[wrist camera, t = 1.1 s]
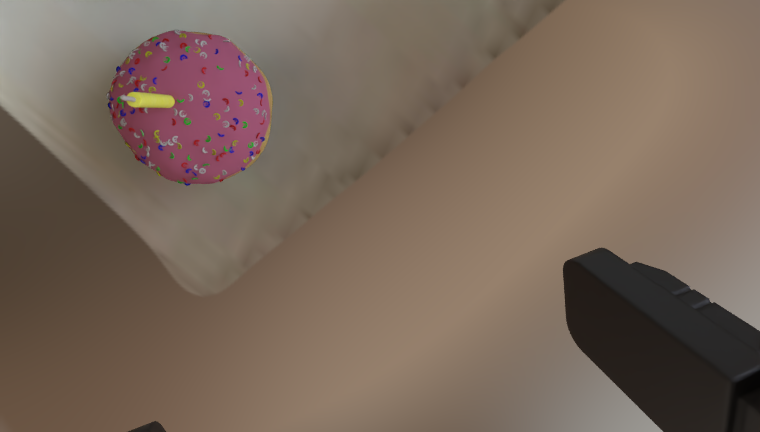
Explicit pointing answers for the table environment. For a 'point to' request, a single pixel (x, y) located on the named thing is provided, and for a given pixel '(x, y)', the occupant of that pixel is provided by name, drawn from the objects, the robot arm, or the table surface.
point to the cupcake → (192, 107)
